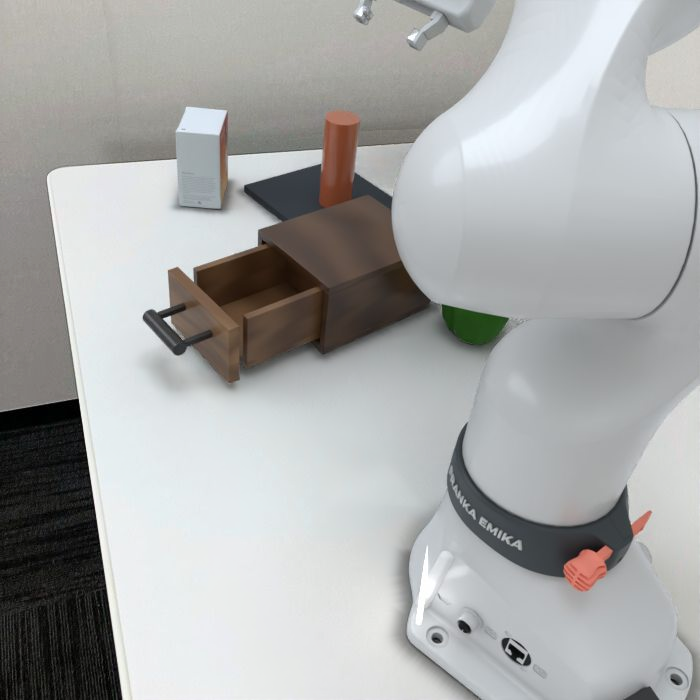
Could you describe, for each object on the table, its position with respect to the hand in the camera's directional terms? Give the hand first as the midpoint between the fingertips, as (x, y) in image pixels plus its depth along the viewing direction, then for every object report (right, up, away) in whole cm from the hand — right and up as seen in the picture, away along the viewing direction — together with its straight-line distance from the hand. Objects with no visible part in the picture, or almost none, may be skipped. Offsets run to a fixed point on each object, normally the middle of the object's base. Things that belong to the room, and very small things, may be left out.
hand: (385, 33), depth 96 cm
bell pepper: (+9, -37, -9) cm, 39 cm away
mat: (-6, -20, +9) cm, 23 cm away
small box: (-24, -18, +9) cm, 32 cm away
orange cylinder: (-6, -19, +8) cm, 22 cm away
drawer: (-16, -38, -15) cm, 44 cm away
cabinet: (-5, -34, -7) cm, 35 cm away
